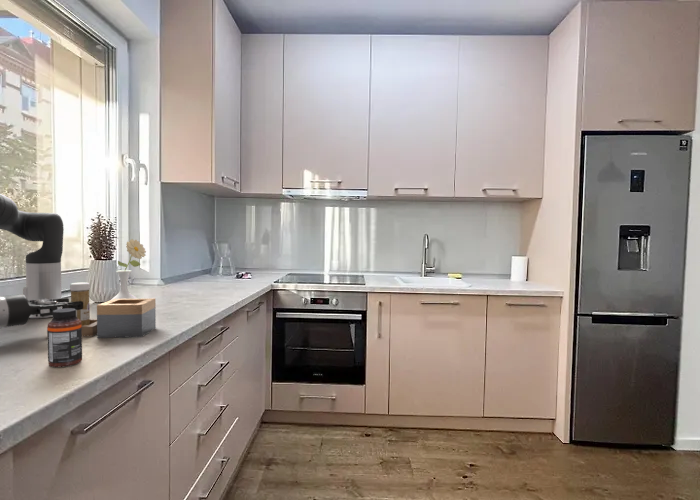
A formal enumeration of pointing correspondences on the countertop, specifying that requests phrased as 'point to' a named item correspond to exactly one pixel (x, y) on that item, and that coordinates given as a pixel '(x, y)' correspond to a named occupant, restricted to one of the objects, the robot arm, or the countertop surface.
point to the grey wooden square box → (126, 318)
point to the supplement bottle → (64, 338)
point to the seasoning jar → (81, 294)
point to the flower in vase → (137, 252)
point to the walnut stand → (89, 328)
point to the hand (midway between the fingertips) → (75, 303)
